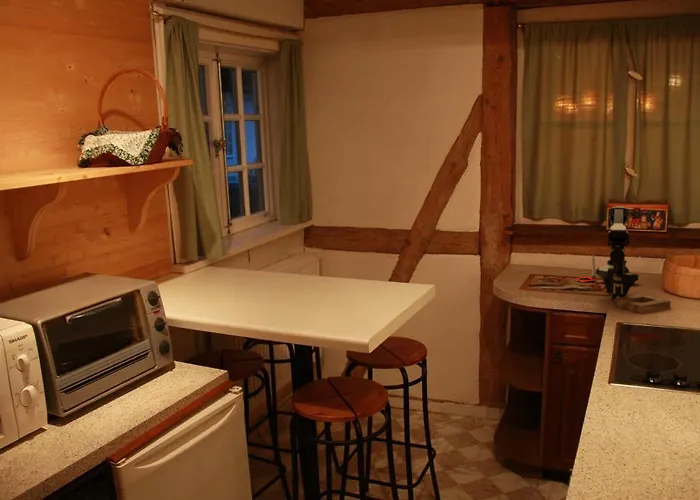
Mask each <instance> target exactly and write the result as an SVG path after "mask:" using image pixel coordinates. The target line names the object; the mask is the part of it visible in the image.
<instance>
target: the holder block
mask: <svg viewBox="0 0 700 500" xmlns="http://www.w3.org/2000/svg"><path fill="white" fill-rule="evenodd" d="M671 304H672V303H671V300H668V299H665V298H661V297H657V296H652V295H648V294H645V293H640V294H635V295H629V296H624V297H622V298H616V299H614V300H613V306H614V307H617V308H620V309H624V310H627V311H631V312H633V311H634V312H635V313H637V314H645V313H651V312H657V311H662V310H667V309H671ZM634 312H633V313H634Z"/></svg>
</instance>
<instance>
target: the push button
mask: <svg viewBox="0 0 700 500" xmlns="http://www.w3.org/2000/svg"><path fill="white" fill-rule="evenodd" d="M621 281H622V279H621V277H617V276H615V277H614V278H613V279H612V283H614V292H613V293H611V295H608V296H607V297H608V298H607V299H608V300H609V299H610V300H612V301H614V299H616V298H622V297H625V296H623V284H622V283H621ZM615 285H616V289H615ZM620 285H621V286H620Z"/></svg>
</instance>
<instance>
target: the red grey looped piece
mask: <svg viewBox="0 0 700 500" xmlns="http://www.w3.org/2000/svg"><path fill="white" fill-rule="evenodd" d="M591 259H592V260H591V265H592V270H591V271H592V272H591V277H588V276H586V277H584V276H583V277H578V278H579V279H580V278H588V279H590V280H588V279H582V280H579V279H578V281H583V282H582V283H589V282H588V281H596V282H597V274H596V262H595V261H596V259H595V254H592V258H591Z"/></svg>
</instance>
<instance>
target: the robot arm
mask: <svg viewBox="0 0 700 500" xmlns="http://www.w3.org/2000/svg"><path fill="white" fill-rule="evenodd" d="M629 214H630V209H629V208H626V207H625V206H612V208H609V209H608V219H610V224H611V226H610V229H609V231H608V235H607V237H608V239H607V246H608V247H610V251H609V259H608V260H607V261H606V262H607V263H606V264H605V265H603V266H601V267H598V268H597V269H595V273H596V276H598V277H599V278H600V279H602V281H603V283H604V287H605V289H606V291H605V292H607V293H611V294H612V293H613V292H614V283H612V279H613V278H614V277H615V276H617V277H621V279H622V281H621V283H622V284H623V293H622V294H623V296H624V297H627V294H628V292H629V290H630V289H631V287H632V286H633V283H634V282H635V283H637V281H639V277H638V275H639V274H638V273H636V272H631V271H630V270H629V268H628V266H627V265H626V264H627V262H628V260H627V259H625V257H626V253H625V252H626V248H625V247H628V245H630V233H629V231H627V227H626V225H627V223H628V219H629V218H630V215H629ZM629 272H630V273H629ZM635 283H634V284H635ZM620 286H621V285H620ZM615 289H616V285H615Z"/></svg>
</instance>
